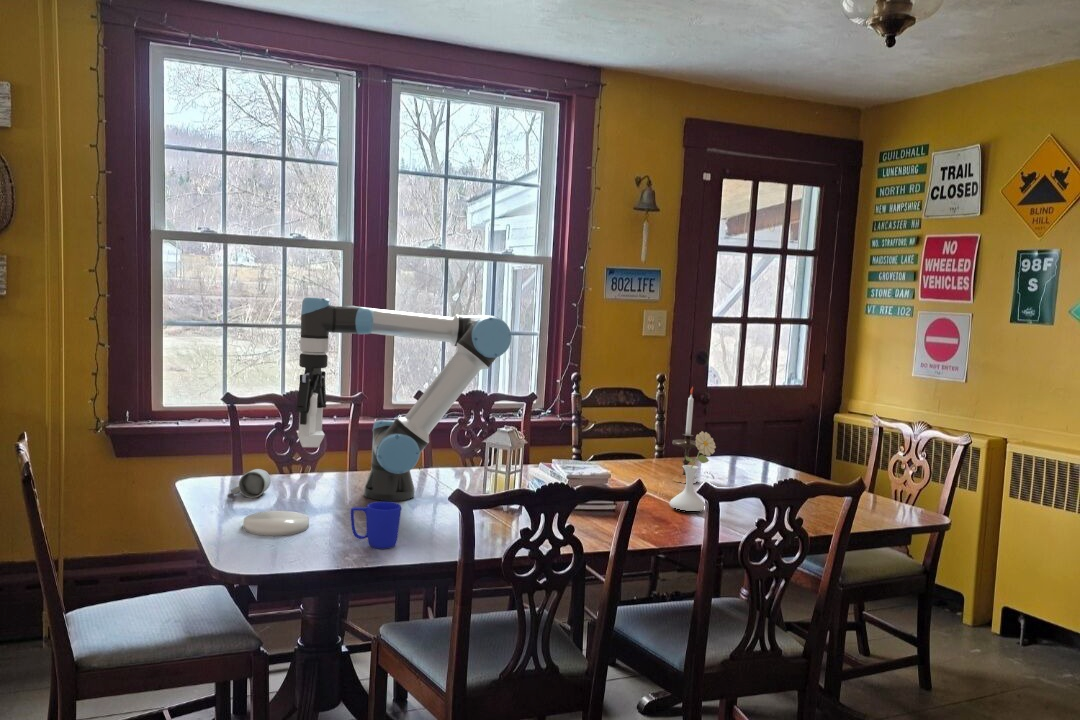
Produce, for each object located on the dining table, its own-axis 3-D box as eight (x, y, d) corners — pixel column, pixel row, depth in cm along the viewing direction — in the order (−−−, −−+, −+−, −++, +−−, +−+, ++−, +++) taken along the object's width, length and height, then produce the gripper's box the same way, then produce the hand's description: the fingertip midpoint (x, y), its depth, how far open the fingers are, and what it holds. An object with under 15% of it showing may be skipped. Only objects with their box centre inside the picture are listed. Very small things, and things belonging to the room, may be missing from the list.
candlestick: (702, 485, 298) (710, 388, 295) (672, 483, 298) (679, 386, 295) (696, 478, 309) (703, 385, 306) (667, 477, 309) (674, 383, 306)
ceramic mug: (271, 492, 248) (272, 466, 248) (264, 498, 240) (265, 472, 240) (235, 491, 247) (235, 465, 247) (227, 497, 239) (227, 471, 239)
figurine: (321, 442, 239) (323, 390, 237) (324, 448, 230) (326, 395, 229) (295, 442, 236) (297, 390, 235) (297, 449, 227) (299, 394, 226)
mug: (351, 539, 207) (353, 500, 206) (400, 541, 208) (402, 502, 207) (346, 549, 198) (348, 508, 198) (397, 551, 199) (399, 510, 199)
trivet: (317, 521, 221) (318, 513, 220) (294, 538, 205) (295, 530, 205) (259, 516, 222) (259, 508, 222) (232, 532, 206) (232, 524, 206)
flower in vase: (676, 515, 253) (683, 433, 251) (663, 505, 264) (669, 427, 262) (716, 515, 256) (723, 435, 254) (702, 506, 267) (708, 428, 265)
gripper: (314, 350, 242) (311, 426, 244) (285, 354, 220) (281, 438, 222) (339, 351, 242) (336, 428, 243) (312, 356, 220) (309, 440, 221)
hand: (310, 433), depth 233 cm, fingers closed on figurine, 9 cm apart
